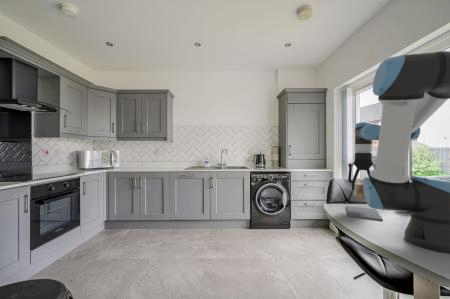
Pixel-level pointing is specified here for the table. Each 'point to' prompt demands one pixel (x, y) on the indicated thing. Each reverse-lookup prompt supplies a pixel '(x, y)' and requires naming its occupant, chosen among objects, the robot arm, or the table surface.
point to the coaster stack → (359, 190)
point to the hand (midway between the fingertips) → (362, 196)
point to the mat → (363, 213)
